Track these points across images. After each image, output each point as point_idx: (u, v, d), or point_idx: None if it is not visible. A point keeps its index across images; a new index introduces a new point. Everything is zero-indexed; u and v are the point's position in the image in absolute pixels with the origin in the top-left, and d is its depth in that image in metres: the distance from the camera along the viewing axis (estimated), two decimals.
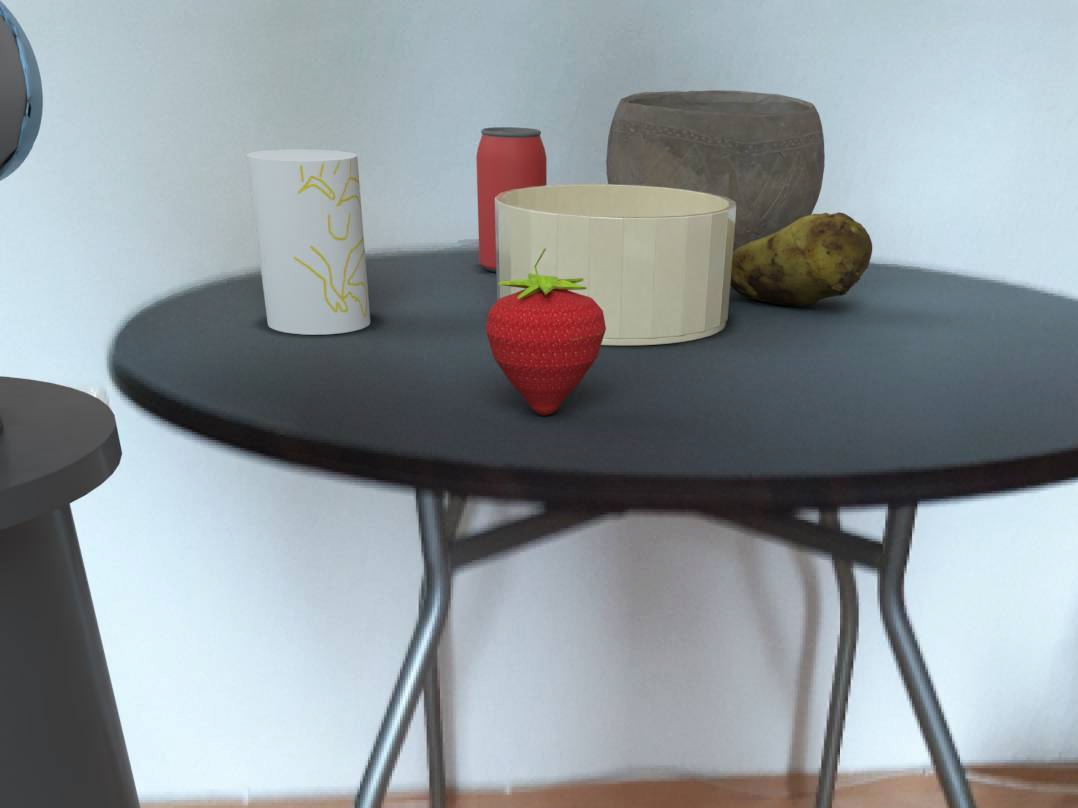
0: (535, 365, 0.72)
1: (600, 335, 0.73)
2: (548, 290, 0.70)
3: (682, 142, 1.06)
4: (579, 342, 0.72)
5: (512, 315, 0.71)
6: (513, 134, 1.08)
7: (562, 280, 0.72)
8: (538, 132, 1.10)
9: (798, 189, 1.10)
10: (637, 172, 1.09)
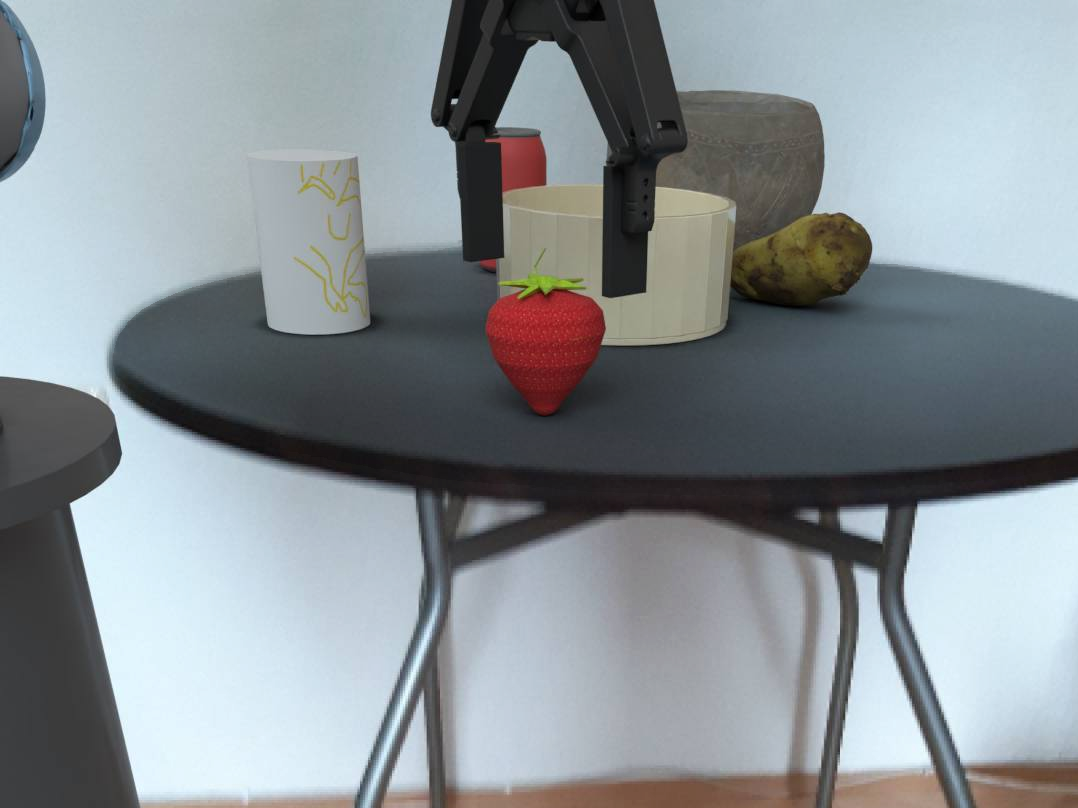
0: (535, 365, 0.72)
1: (600, 335, 0.73)
2: (548, 290, 0.70)
3: None
4: (579, 342, 0.72)
5: (512, 315, 0.71)
6: (513, 134, 1.08)
7: (562, 280, 0.72)
8: (538, 132, 1.10)
9: (798, 190, 1.10)
10: None
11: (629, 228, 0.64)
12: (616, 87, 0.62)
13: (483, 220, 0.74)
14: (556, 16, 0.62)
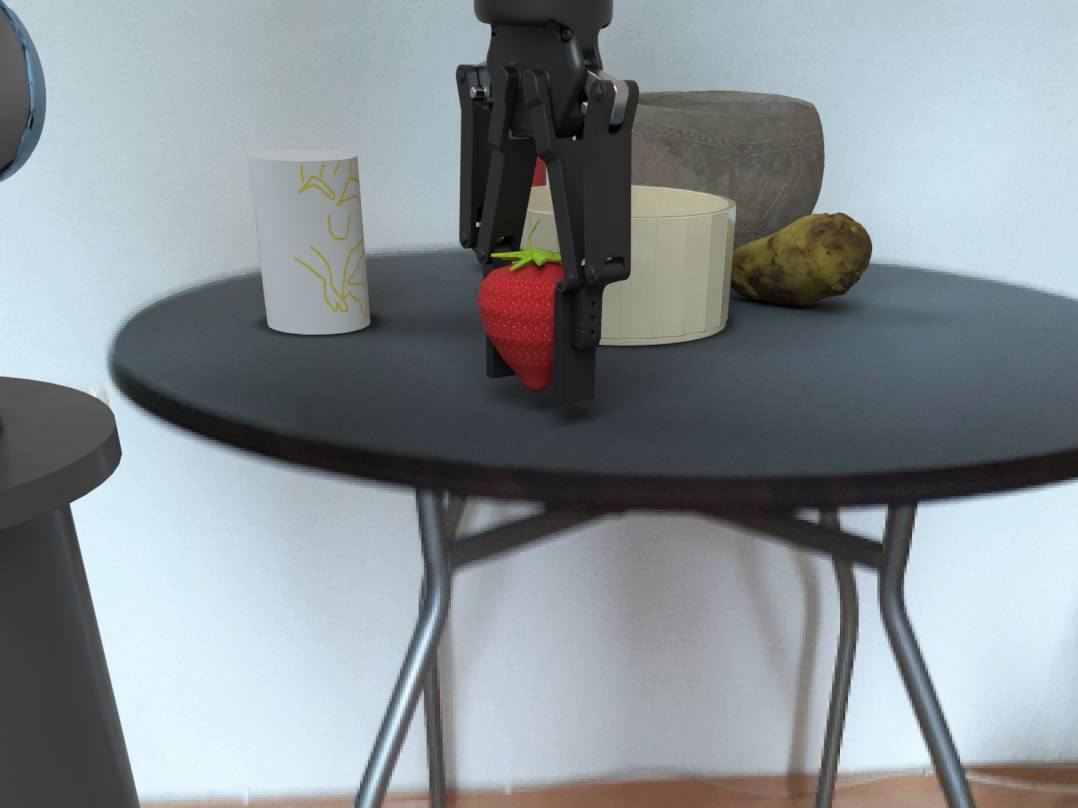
0: (527, 338, 0.71)
1: None
2: (541, 262, 0.69)
3: (682, 142, 1.06)
4: None
5: (504, 287, 0.70)
6: None
7: (556, 253, 0.71)
8: None
9: (798, 190, 1.10)
10: (637, 172, 1.09)
11: (577, 344, 0.70)
12: (581, 213, 0.67)
13: None
14: (542, 130, 0.65)
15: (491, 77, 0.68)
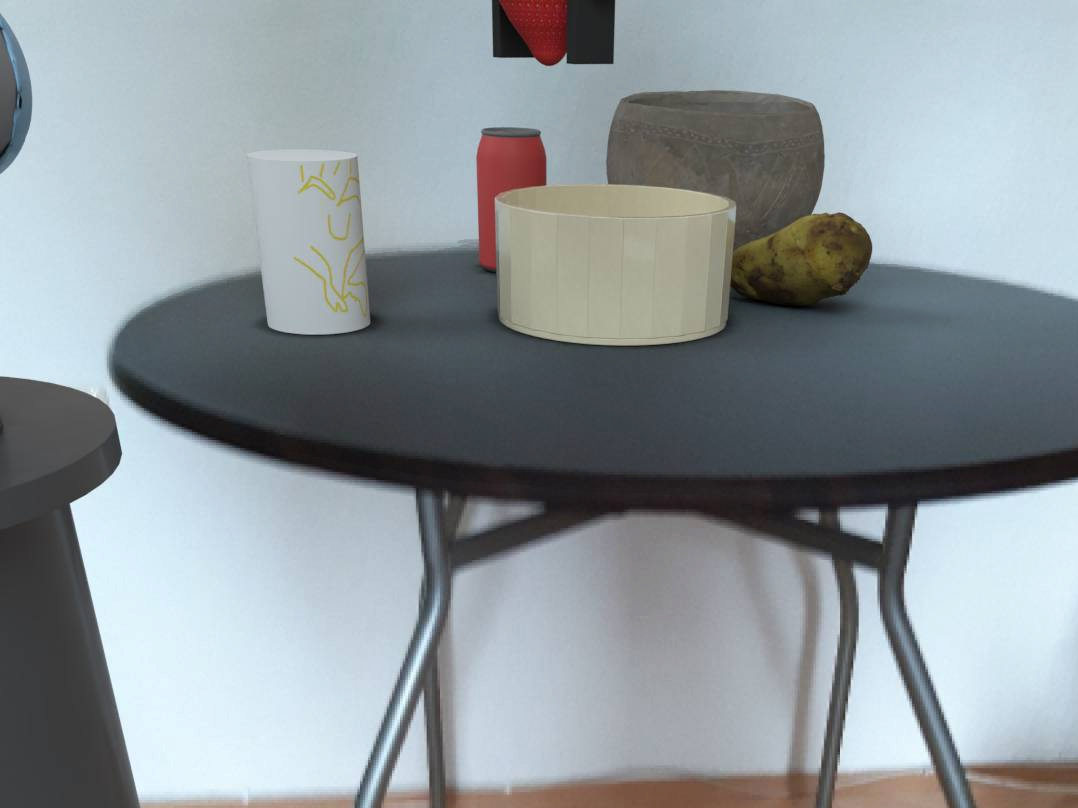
0: None
1: None
2: None
3: (682, 142, 1.06)
4: None
5: None
6: (513, 134, 1.08)
7: None
8: (538, 132, 1.10)
9: (798, 190, 1.10)
10: (637, 172, 1.09)
11: None
12: None
13: None
14: None
15: None
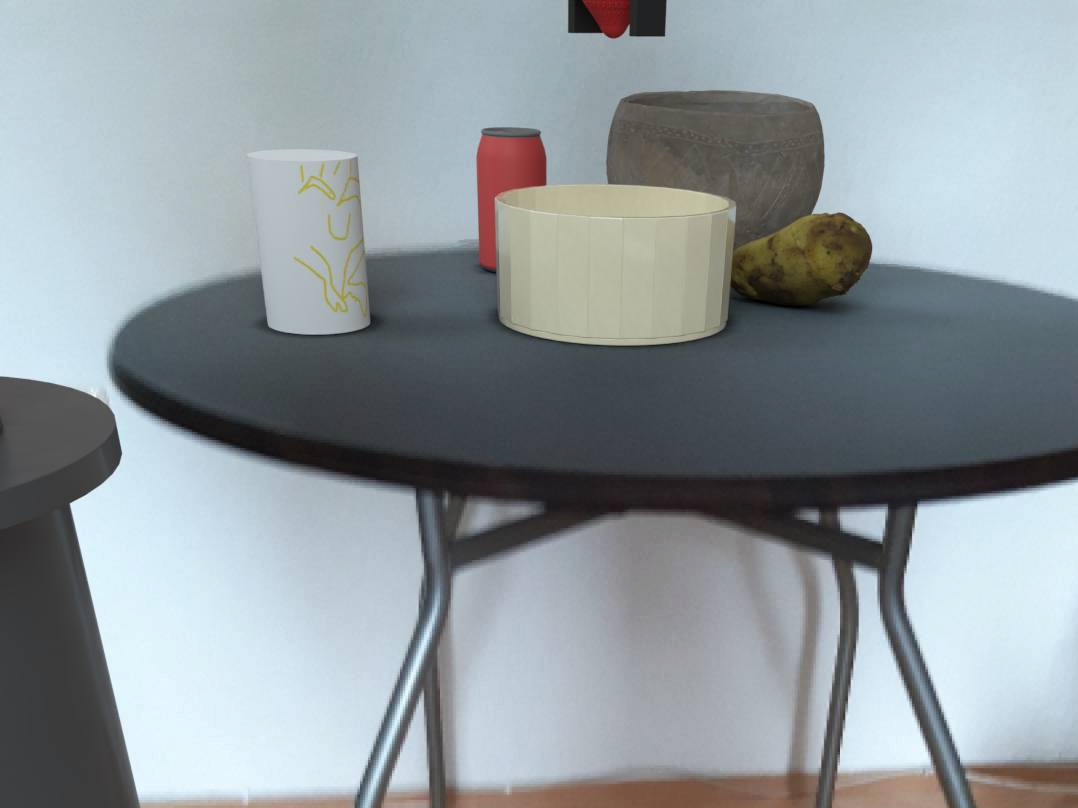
0: None
1: None
2: None
3: (682, 142, 1.06)
4: None
5: None
6: (513, 134, 1.08)
7: None
8: (538, 132, 1.10)
9: (798, 190, 1.10)
10: (637, 172, 1.09)
11: None
12: None
13: None
14: None
15: None
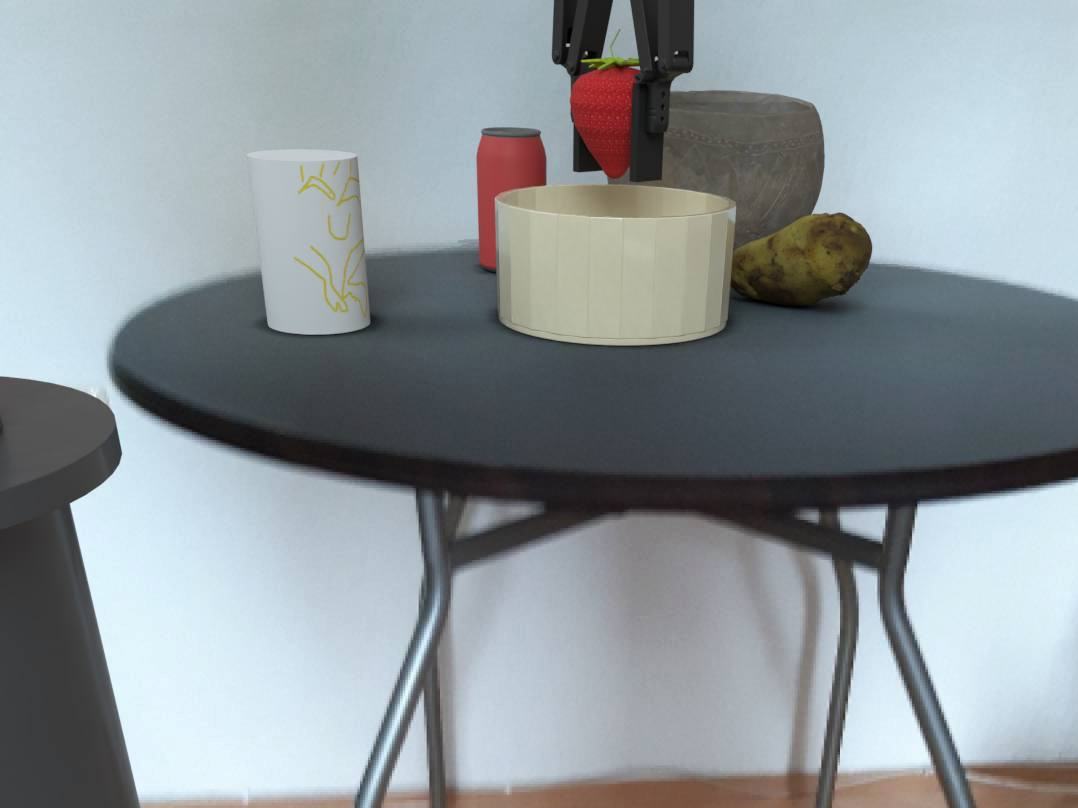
0: (610, 127, 0.90)
1: None
2: (622, 62, 0.88)
3: (682, 142, 1.06)
4: None
5: (593, 83, 0.89)
6: (513, 134, 1.08)
7: (632, 59, 0.90)
8: (538, 132, 1.10)
9: (798, 190, 1.10)
10: None
11: (650, 129, 0.89)
12: (654, 19, 0.86)
13: None
14: None
15: None
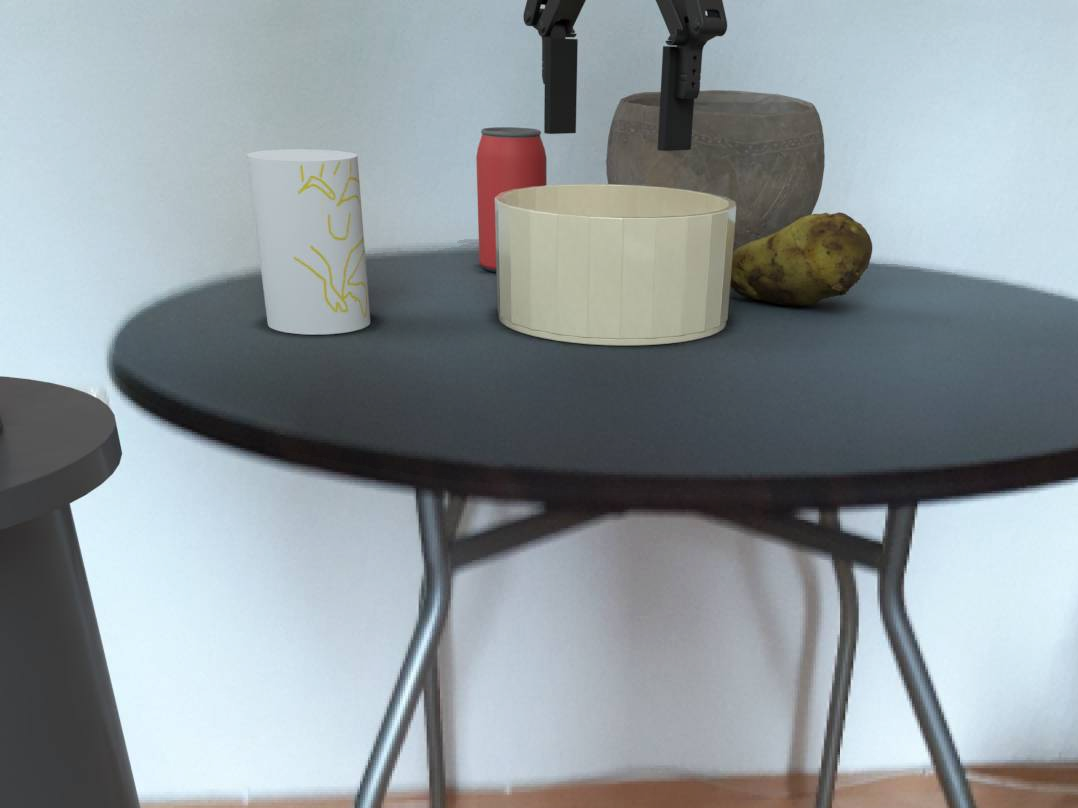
0: None
1: None
2: None
3: None
4: None
5: None
6: (513, 134, 1.08)
7: None
8: (538, 132, 1.10)
9: (798, 190, 1.10)
10: (637, 172, 1.09)
11: (681, 95, 0.86)
12: None
13: (561, 100, 0.95)
14: None
15: None
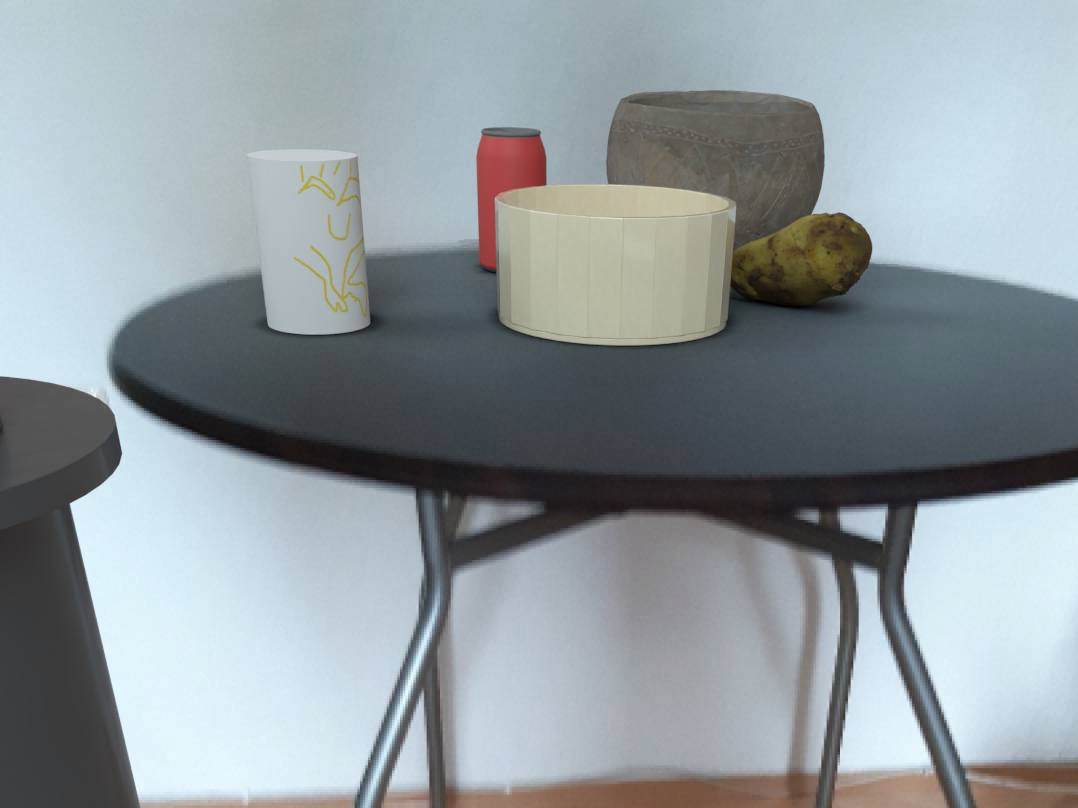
0: None
1: None
2: None
3: (682, 142, 1.06)
4: None
5: None
6: (513, 134, 1.08)
7: None
8: (538, 132, 1.10)
9: (798, 190, 1.10)
10: (637, 172, 1.09)
11: None
12: None
13: None
14: None
15: None
